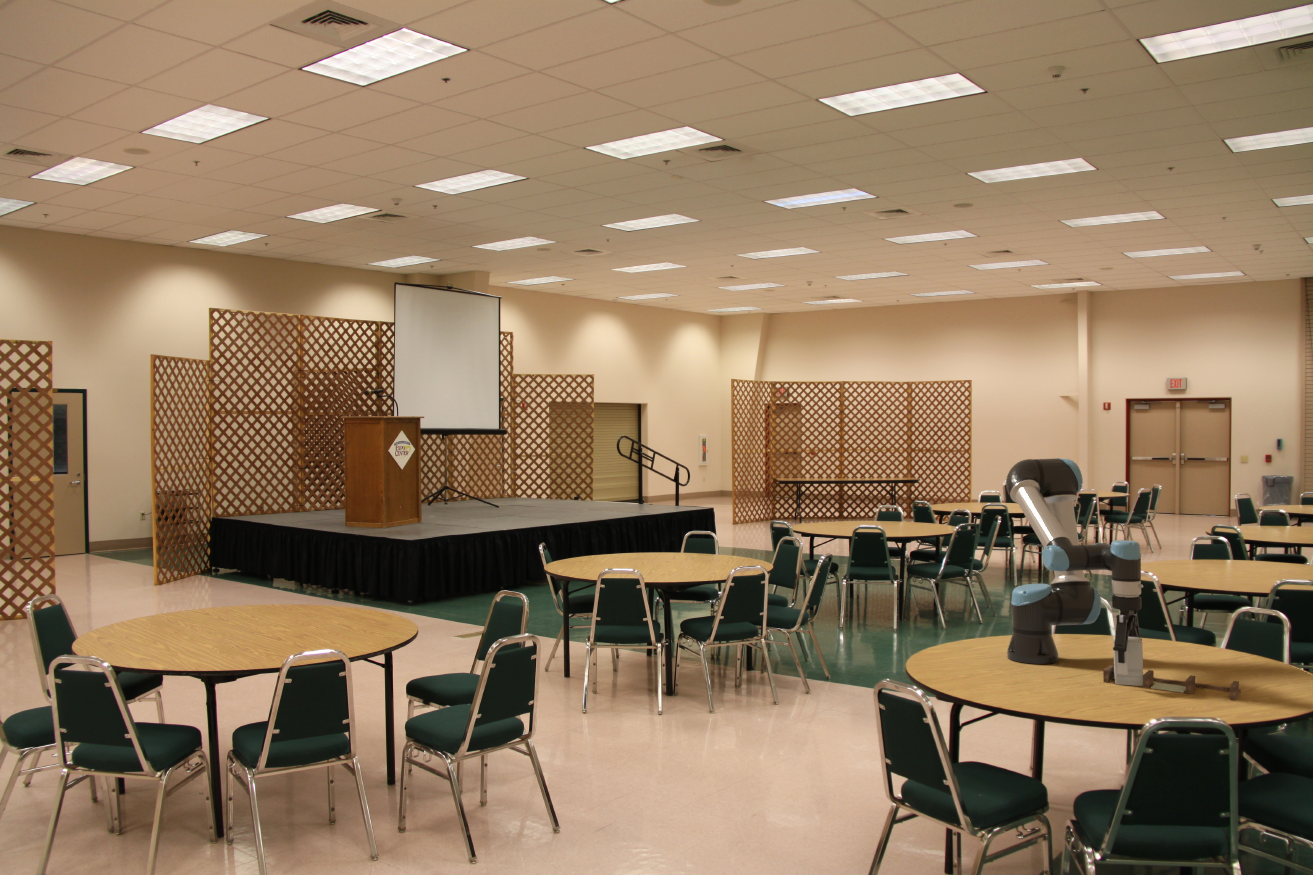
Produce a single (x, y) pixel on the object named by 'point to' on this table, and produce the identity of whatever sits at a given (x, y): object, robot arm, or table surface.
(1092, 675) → the table surface
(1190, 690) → the notch rail
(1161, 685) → the pad
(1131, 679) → the supplement box
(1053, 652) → the robot arm
